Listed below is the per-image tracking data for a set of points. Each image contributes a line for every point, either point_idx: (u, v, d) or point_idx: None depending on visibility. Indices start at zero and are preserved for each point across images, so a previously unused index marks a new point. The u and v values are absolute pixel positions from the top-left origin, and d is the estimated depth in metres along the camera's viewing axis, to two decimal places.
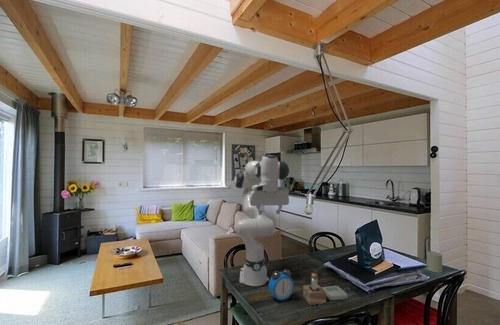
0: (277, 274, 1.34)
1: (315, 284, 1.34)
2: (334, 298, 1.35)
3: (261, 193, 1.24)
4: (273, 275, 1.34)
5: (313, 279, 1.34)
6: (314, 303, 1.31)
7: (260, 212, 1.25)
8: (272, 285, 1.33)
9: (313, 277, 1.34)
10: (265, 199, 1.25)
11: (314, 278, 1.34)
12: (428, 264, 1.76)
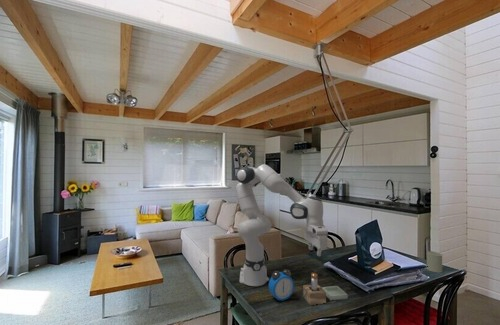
0: (277, 274, 1.34)
1: (315, 284, 1.34)
2: (334, 298, 1.35)
3: None
4: (273, 275, 1.34)
5: (313, 279, 1.34)
6: (314, 303, 1.31)
7: None
8: (272, 285, 1.33)
9: (313, 277, 1.34)
10: None
11: (314, 278, 1.34)
12: (428, 264, 1.76)
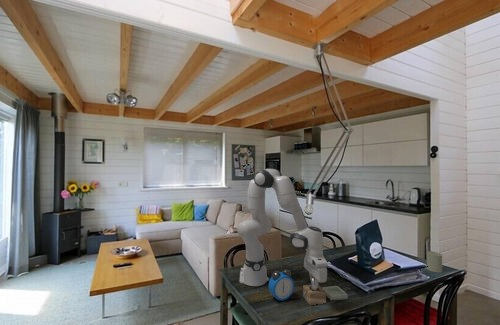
0: (277, 274, 1.34)
1: None
2: (334, 298, 1.35)
3: None
4: (273, 275, 1.34)
5: (313, 279, 1.34)
6: (314, 303, 1.31)
7: None
8: (272, 285, 1.33)
9: (313, 277, 1.34)
10: None
11: (314, 278, 1.34)
12: (428, 264, 1.76)
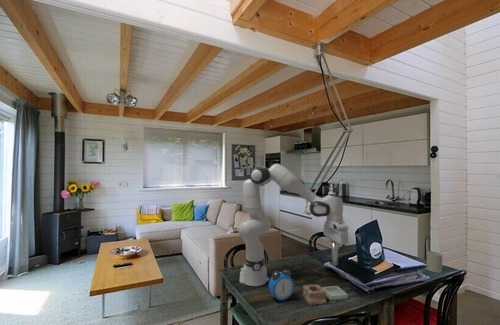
0: (277, 274, 1.34)
1: None
2: (334, 298, 1.35)
3: None
4: (273, 275, 1.34)
5: (334, 244, 1.39)
6: (314, 303, 1.31)
7: None
8: (272, 285, 1.33)
9: (334, 242, 1.39)
10: None
11: (335, 243, 1.39)
12: (428, 264, 1.76)
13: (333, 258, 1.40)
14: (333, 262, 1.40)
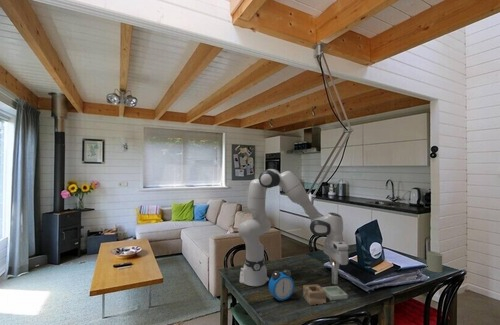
0: (277, 274, 1.34)
1: None
2: (334, 298, 1.35)
3: None
4: (273, 275, 1.34)
5: (334, 263, 1.39)
6: (314, 303, 1.31)
7: None
8: (272, 285, 1.33)
9: (334, 261, 1.39)
10: None
11: (335, 262, 1.39)
12: (428, 264, 1.76)
13: (333, 277, 1.40)
14: (333, 281, 1.40)
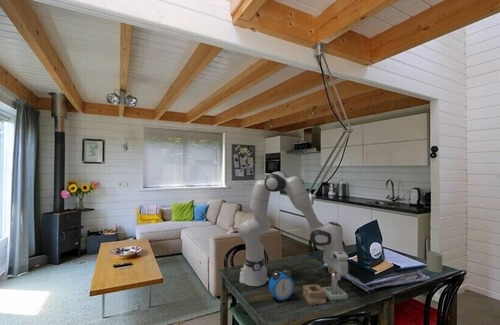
0: (277, 274, 1.34)
1: (335, 279, 1.39)
2: (334, 298, 1.35)
3: None
4: (273, 275, 1.34)
5: (334, 274, 1.39)
6: (314, 303, 1.31)
7: None
8: (272, 285, 1.33)
9: (334, 272, 1.39)
10: None
11: (335, 273, 1.39)
12: (428, 264, 1.76)
13: (333, 288, 1.40)
14: (332, 292, 1.40)
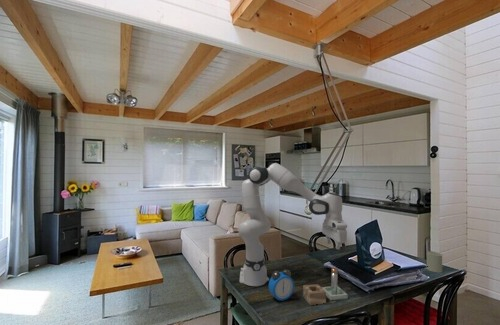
0: (277, 274, 1.34)
1: (335, 279, 1.39)
2: (334, 298, 1.35)
3: None
4: (273, 275, 1.34)
5: (333, 274, 1.39)
6: (314, 303, 1.31)
7: None
8: (272, 285, 1.33)
9: (333, 272, 1.39)
10: None
11: (334, 273, 1.39)
12: (428, 264, 1.76)
13: (333, 288, 1.40)
14: (332, 292, 1.40)
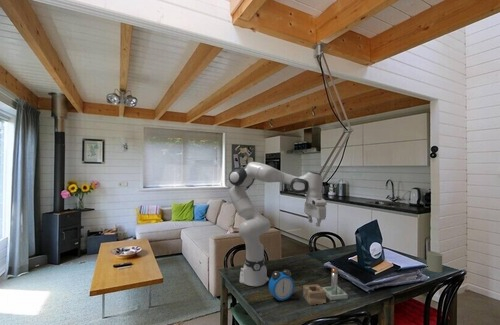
0: (277, 274, 1.34)
1: (335, 279, 1.39)
2: (334, 298, 1.35)
3: None
4: (273, 275, 1.34)
5: (333, 274, 1.39)
6: (314, 303, 1.31)
7: None
8: (272, 285, 1.33)
9: (333, 272, 1.40)
10: None
11: (334, 273, 1.39)
12: (428, 264, 1.76)
13: (333, 288, 1.40)
14: (332, 292, 1.40)
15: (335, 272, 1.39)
